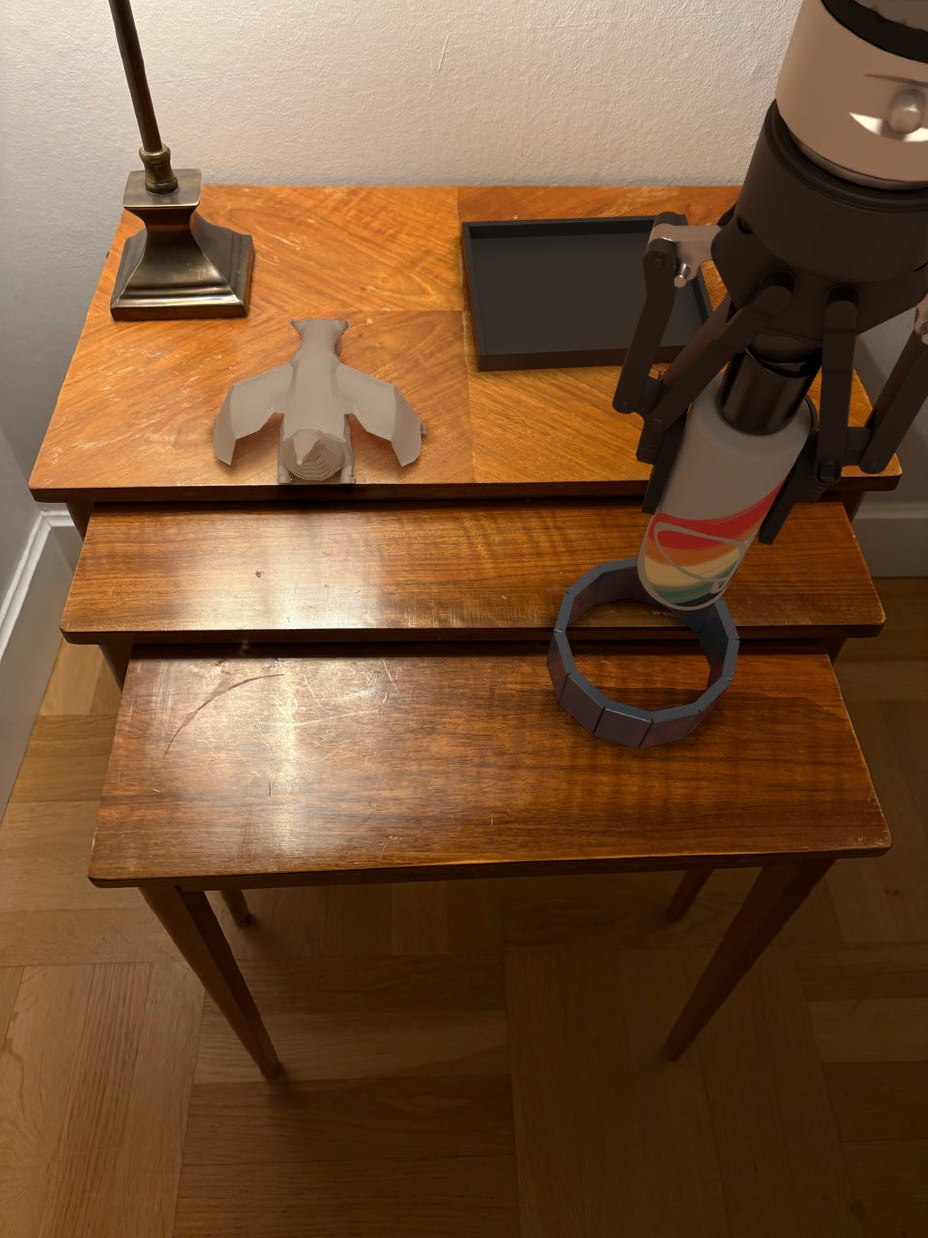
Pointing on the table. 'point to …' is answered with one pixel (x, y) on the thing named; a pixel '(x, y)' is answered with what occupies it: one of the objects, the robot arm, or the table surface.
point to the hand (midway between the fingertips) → (709, 508)
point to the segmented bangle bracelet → (620, 718)
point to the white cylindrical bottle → (728, 471)
